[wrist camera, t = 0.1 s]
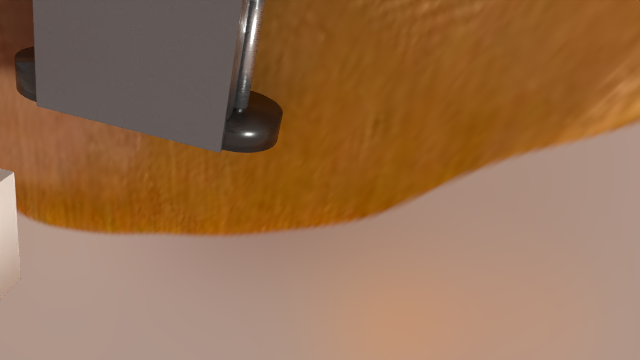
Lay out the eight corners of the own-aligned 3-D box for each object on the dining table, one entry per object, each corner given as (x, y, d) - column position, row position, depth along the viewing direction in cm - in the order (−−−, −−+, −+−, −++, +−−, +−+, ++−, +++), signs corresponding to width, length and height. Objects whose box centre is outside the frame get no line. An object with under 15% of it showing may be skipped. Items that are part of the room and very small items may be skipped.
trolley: (43, -116, 34) (-60, -118, 26) (319, -45, 34) (297, -27, 26) (48, 65, 40) (-36, 107, 32) (284, 125, 40) (257, 182, 32)
